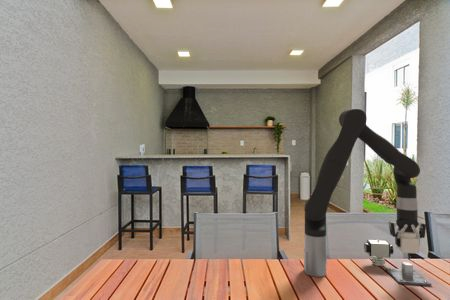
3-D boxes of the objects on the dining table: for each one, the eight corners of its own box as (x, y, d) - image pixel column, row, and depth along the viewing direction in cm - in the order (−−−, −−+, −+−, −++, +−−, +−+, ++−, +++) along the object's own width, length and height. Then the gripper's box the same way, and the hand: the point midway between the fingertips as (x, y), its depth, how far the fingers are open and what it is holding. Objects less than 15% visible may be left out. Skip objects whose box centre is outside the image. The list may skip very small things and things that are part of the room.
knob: (402, 252, 116) (402, 232, 116) (396, 247, 122) (396, 228, 122) (419, 253, 115) (418, 233, 115) (411, 248, 121) (411, 228, 121)
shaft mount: (398, 283, 113) (398, 269, 113) (385, 270, 126) (385, 257, 126) (431, 286, 111) (431, 271, 111) (414, 272, 124) (414, 258, 124)
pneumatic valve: (393, 267, 129) (393, 242, 129) (366, 265, 131) (366, 240, 131) (389, 263, 134) (389, 238, 134) (363, 261, 137) (363, 236, 137)
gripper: (392, 209, 116) (392, 249, 116) (430, 209, 114) (430, 250, 114) (385, 205, 124) (385, 243, 124) (420, 206, 121) (421, 244, 121)
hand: (407, 246), depth 119 cm, fingers closed on knob, 6 cm apart
